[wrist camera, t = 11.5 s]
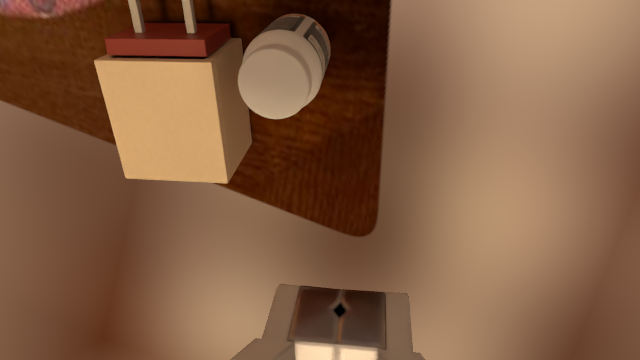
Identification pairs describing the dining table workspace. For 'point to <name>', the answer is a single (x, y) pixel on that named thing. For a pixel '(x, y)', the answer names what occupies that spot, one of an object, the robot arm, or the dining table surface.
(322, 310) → the robot arm
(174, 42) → the drawer
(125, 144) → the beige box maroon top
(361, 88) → the dining table surface
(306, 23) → the pill bottle
